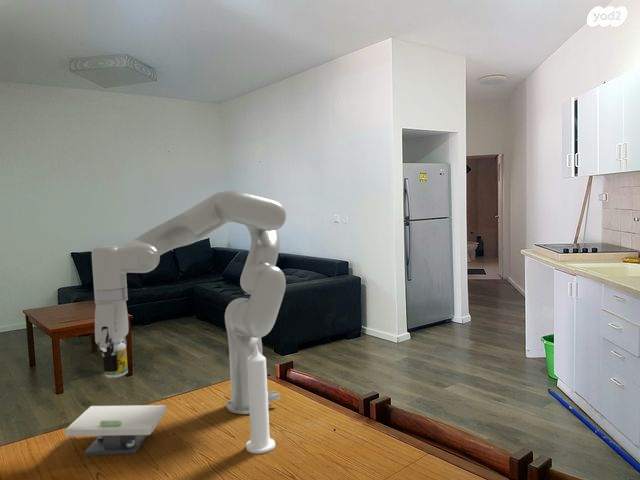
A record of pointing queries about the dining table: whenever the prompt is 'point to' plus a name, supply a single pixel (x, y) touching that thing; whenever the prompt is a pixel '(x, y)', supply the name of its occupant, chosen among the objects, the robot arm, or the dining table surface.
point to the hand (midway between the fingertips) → (116, 366)
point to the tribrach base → (115, 445)
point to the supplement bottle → (119, 360)
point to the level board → (117, 420)
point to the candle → (258, 405)
